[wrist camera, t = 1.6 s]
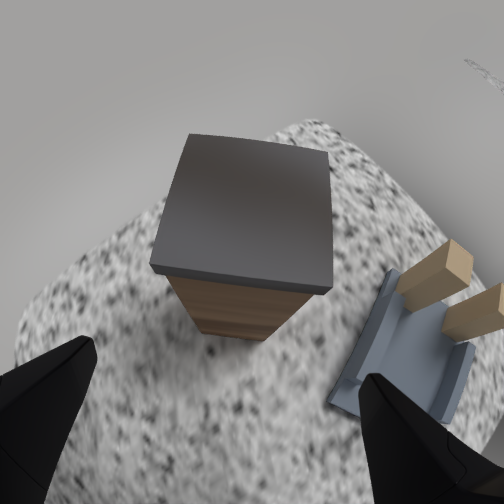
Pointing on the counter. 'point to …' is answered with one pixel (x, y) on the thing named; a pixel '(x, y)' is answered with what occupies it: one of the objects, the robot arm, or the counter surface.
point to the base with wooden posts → (423, 334)
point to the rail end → (246, 233)
